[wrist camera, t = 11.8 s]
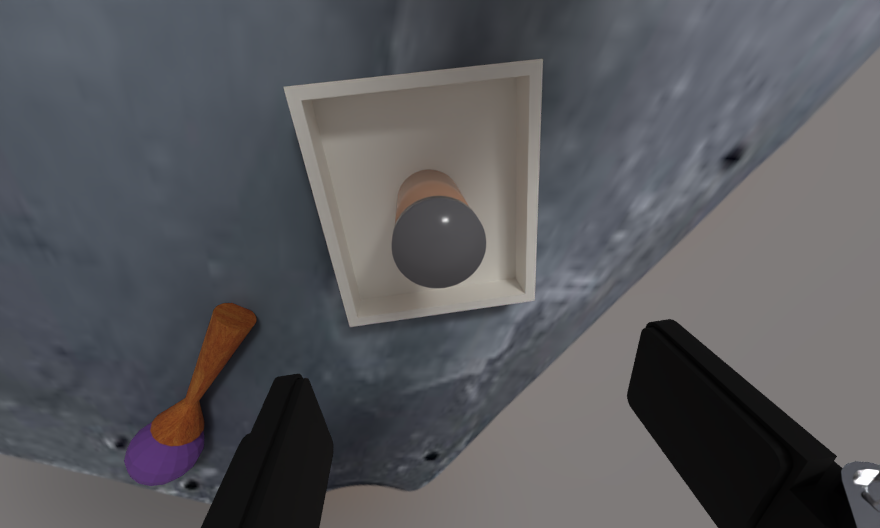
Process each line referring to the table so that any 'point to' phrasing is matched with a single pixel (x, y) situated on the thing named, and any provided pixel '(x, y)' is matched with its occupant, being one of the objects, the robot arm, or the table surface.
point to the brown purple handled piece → (187, 406)
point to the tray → (414, 149)
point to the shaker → (436, 232)
